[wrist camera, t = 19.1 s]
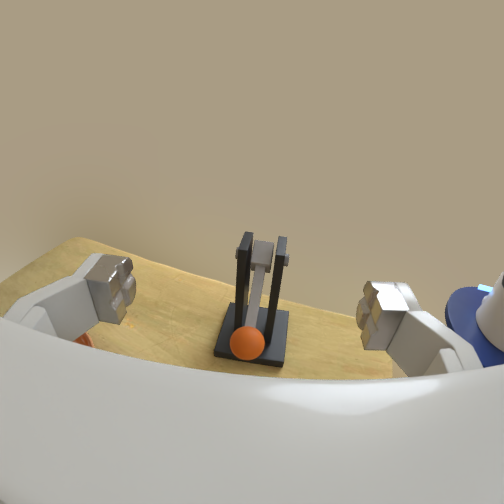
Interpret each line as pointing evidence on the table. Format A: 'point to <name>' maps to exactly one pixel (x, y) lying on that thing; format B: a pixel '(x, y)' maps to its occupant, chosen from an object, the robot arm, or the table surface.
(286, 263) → the switch base
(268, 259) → the lever
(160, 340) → the table surface
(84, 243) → the table surface
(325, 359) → the table surface
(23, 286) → the table surface
